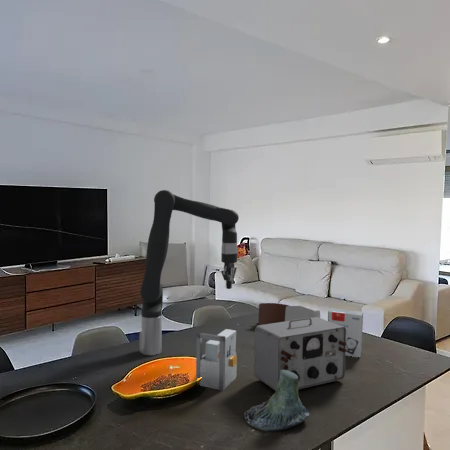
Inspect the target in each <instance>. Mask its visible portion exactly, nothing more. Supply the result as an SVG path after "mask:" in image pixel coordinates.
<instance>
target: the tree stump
mask: <svg viewBox="0 0 450 450" xmlns="http://www.w3.org/2000/svg"><path fill="white" fill-rule="evenodd" d="M243 415H244V420H245V422H246V423H247V424H248V425H249V426H251V427H253V428H255V429H257V430H261V431H263V432H278V431H282V430H287V429H290V428H292V427H295V426H297V425H300V424H301V423H302V422H304V421H306V419H308V417H309V416H310V413H309V410H308V409H307V408H306V407H305V406H304V405H303V403H302V401H301V399H300V396H299V390H298V376H297V375H296V374H294V373H293V372H291V371H288V370H281V371H280V378H279V381H278V385H277V389H276V391H275V392H274V393H273V394H272V395H271V396H270V397H269V399H268V400H266V401H263V402H262V403H260V404H258V405H253V406H251V407H250V408H249V409H248V410H246V411H244V414H243Z"/></svg>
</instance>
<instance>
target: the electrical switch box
mask: <svg viewBox="0 0 450 450" xmlns="http://www.w3.org/2000/svg"><path fill="white" fill-rule="evenodd" d="M308 317H310V318H313V317H319V318H321V309H319V308H312V307H305V306H303V305H289V306H287V307H286V312H285V321H290V320H294V319H301V318H308Z"/></svg>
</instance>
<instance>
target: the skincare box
mask: <svg viewBox="0 0 450 450" xmlns="http://www.w3.org/2000/svg"><path fill="white" fill-rule="evenodd" d="M217 335H219V336H225V359H226V358H228V357H229V356H230V355H231V354H233V353H234V352H235V353H236V348H237V346H236V344H237V330H234V329H229V328H225V329H224V330H222V331H221V332H219V333H218V334H217ZM219 348H220V341H214V340H207V341H206V342H205V348H204V350H205V351H204V354H205V359H206V360H211V361H216V362H219Z"/></svg>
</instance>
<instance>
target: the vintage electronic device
mask: <svg viewBox="0 0 450 450" xmlns="http://www.w3.org/2000/svg"><path fill="white" fill-rule="evenodd" d="M345 352H346V328H345V327H343V326H340V325H337V324H335V323H332V322H329V321H328V319H324V318H322V317H320V318H319V317H313V318H310V317H308V318H301V319H294V320H290V321H285V322H278V323H271V324H264V325H258V324H257V325H256V326H255V327H254V367H253V369H254V370H253V371H254V372H253V374H254V377H255V378H256V379H258V380H259V381H260V382H261V383H263V384H265V385H266V386H268V387H269V388H270V389H272V390H274V391H275V392H276V389H277V385H278V381H279V378H280V371H281V370H288V371H291V372H293V373H294V374H296V375H297V376H298V391H299V390H302V389H306V388H310V387H311V388H312V387H315V386H320V385H323V384H328V383H331V382H332V383H337V382H338V381H340V380H343V379H344V378H345V377H346V376H345V375H346V356H345Z"/></svg>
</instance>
